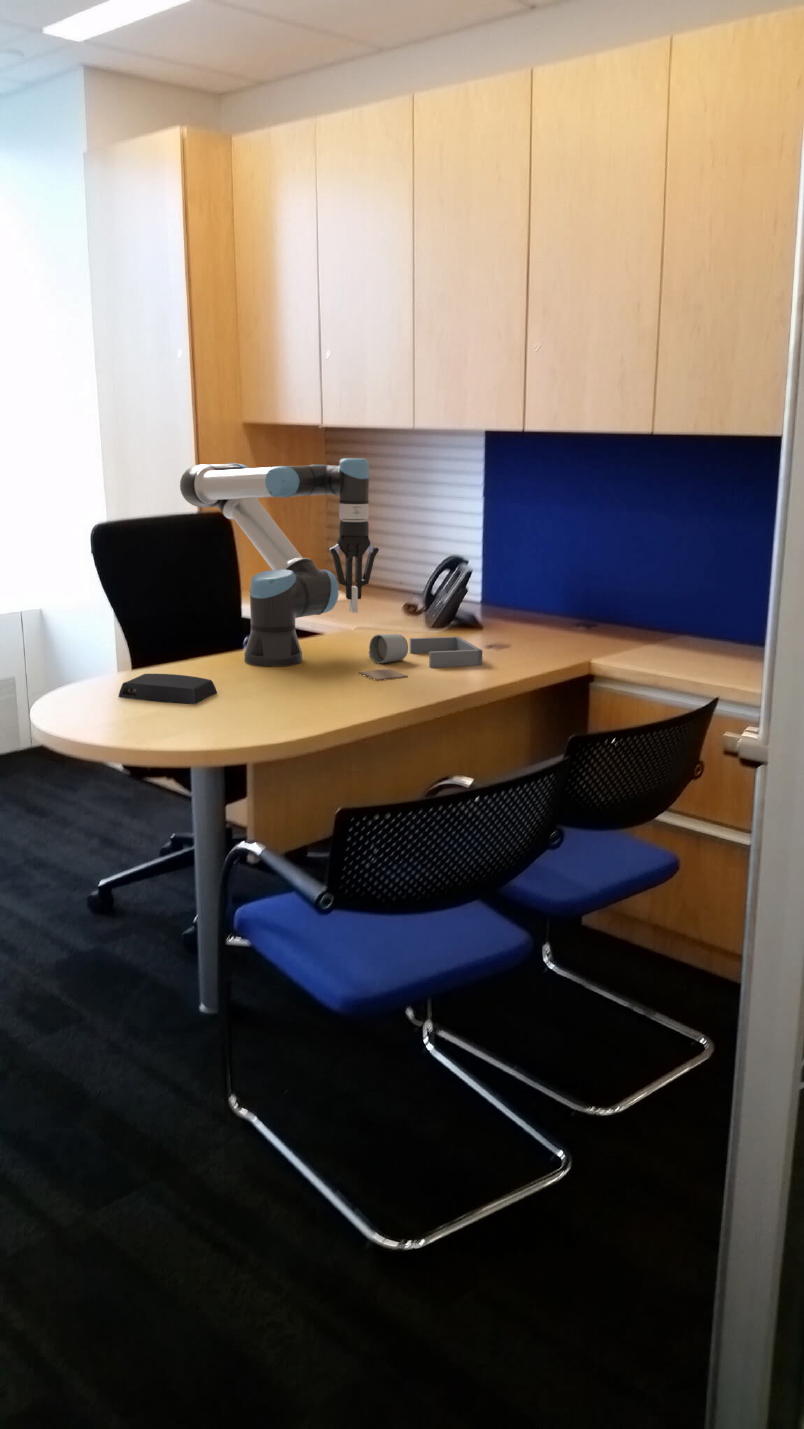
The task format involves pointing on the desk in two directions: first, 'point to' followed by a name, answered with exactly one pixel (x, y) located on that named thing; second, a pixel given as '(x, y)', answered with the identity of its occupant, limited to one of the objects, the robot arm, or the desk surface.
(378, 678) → the walnut coaster
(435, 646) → the grey c-shaped bracket
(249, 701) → the desk surface
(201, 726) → the desk surface
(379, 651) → the ceramic mug
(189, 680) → the external hard drive
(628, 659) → the desk surface
